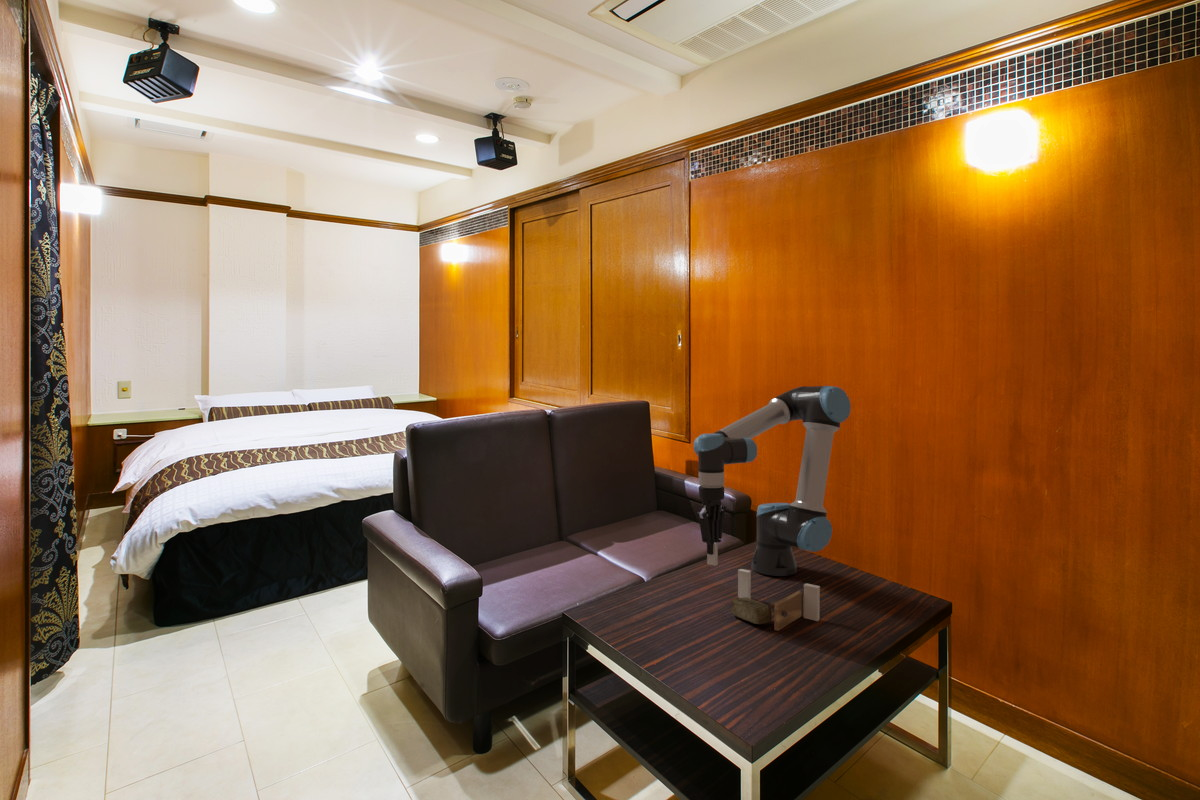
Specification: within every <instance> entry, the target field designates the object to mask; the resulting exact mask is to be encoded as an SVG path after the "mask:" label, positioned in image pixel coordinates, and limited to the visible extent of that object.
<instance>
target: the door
mask: <svg viewBox="0 0 1200 800" xmlns="http://www.w3.org/2000/svg"><path fill="white" fill-rule="evenodd" d="M773 610H774V618H773V619H774V622H773V623H774V625H773V626H774V631H780V630H783V629H784V628H785V627H787V626H789V625H790V624H791V623H793V622H795V621H797V620H798V619H800V618H801V617H804V589H798V590H797V591H796V592H794V593H792V594H791V595H788V596H787V597H785V598H783V599H781V600H780V601H778V602H776V603H774V609H773Z"/></svg>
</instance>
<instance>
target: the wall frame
mask: <svg viewBox="0 0 1200 800" xmlns="http://www.w3.org/2000/svg"><path fill="white" fill-rule="evenodd" d="M751 574H752V570H749V569H744V568H740V569H738V570H737V597H738V598H743V597H747V598H750V599H752V597H751V594H752V593H751V591H752V590H751V589H752V588H751V587H752V586H751V585H752V584H751V582H752V579H751ZM820 590H821V586H820V585H816V584H811V583H803V619H806V620H811V621H815V622H819V621H820V604H821V603H820V597H821V596H820V595H821V594H820V593H821V592H820Z"/></svg>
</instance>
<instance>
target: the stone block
mask: <svg viewBox="0 0 1200 800" xmlns="http://www.w3.org/2000/svg"><path fill="white" fill-rule="evenodd" d="M731 614H732V615H734V616H735V617H737V618H738V619H739V618H740V619H741V620H744V621H746V622H750V623H752V624H754V625H763V624H768V623H770V622H772V620H773V616H772V615H773V614H772V608H771V607H770V605H769V604H766V603H763V602H762V601H759V600H755V599H752V598H751V599H750V598H747V597H743V598H739V597H738V598H733V599H732V601H731Z"/></svg>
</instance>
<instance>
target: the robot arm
mask: <svg viewBox="0 0 1200 800" xmlns="http://www.w3.org/2000/svg"><path fill="white" fill-rule="evenodd" d="M850 414H851V401H850V397H849V396H848V395H847V393H846V391H844V390H843V388H841V387H839V386H830V385H819V386H818V385H817V386H816V385H815V386H807V385H806V386H805V385H804V386H798V387H795V388H792V389H790V390H787V391H785V392H783V393H781V394H780V395H777V396H775V397H773V398H772V399H770V400H769V402H768V404H767V405H765V406H763V407H761V408H759V409H757V410H755V411H754V412H751V413H749V414H747V415H746V416H744V417H742V418H740V419H738V420H736V421H734V422H732V423H730V424H729V425H726V426H725V427H723V428H721V429H719V430H717V431H714V432H713V433H702V434H700V435H699V436H697V437H696V438H695V440H694V441H693V452H694V453H695V455H697V460H698V461H697V462H698V484H699V486H698V498H699V499H700V500H701V501H702V503H701V510H700V511H697V513H696V516H697V518H698V521H699V527H700V535H701V541H702V542H703V543H706V556H707V557H706V563H707V564H706V565H709V566H715V567H716V566H717V565H718V564H719V562H718V561H719V559H718V558H719V555H718V546H719V545H718V543H721V542H722V540H721V539H722V537H723V528H724V517H725V513H726V512H725V511H726V509H727V508H726V505H722V500H724V499H725V487H724V485H725V465H731V464H732V465H733V464H735V465H736V464H747V463H751V462H753V461H755V460H756V458H757V455H758V446H757V443H756V442H755V440H754V439H753V438H755V437H757V436H759V435H761V434H763V433H764V432H766V431H768V430H770V429H772V428H773V427H776V426H777V425H779V424H780V425H785V424H787V423H790V422H793V421H802V425H803V427H804V428H805V435H804V436H805V437H804V444H803V448H802V456H801V462H800V469H799V475H798V481H797V489H796V494H795V500H794V501H793V502H791V503H789V502H770V503H769V502H768V503H761V504H759V505H758V507H757V511H756V548H755V550H754V553H753V557H752V558H751V559H752V560H751V570H752V571H754V572H756V573H759V574H761V575H767V576H774V577H775V576H776V577H785V576H793V575H795V574H797V571H798V568H797V566H798V565H797V562H796V558H795V555H794V552H793V549H792V548H793V547H794V548H797V549H800V550H802V551H808V552H812V553H814V552H819V551H822V550H823V549H824V548H825V547H827V546H828V544H829V543H830V542H831V538H832V535H833V525H832V523H831V521H830V520H829V519H828V518H827V513H828V512H827V510H826V508H825V507H824V499H825V493H826V487H827V479H828V473H829V467H830V460H831V459H830V458H831V455H832V454H831V453H832V446H833V442H834V440H833V439H834V435H835V433H836V432H838V431H839V430H840V428H841V423H843V422H845V421H846V420H848V419H847V418H849V417H850Z"/></svg>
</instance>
